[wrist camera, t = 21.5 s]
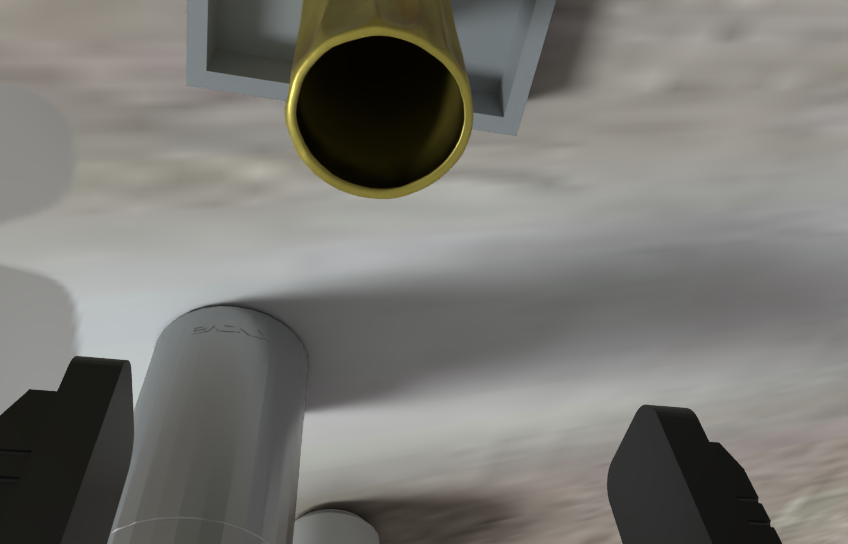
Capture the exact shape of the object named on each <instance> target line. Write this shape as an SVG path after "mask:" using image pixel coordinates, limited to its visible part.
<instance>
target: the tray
mask: <svg viewBox="0 0 848 544" xmlns="http://www.w3.org/2000/svg"><path fill="white" fill-rule="evenodd" d="M450 2H451V8H452V12H453V17H454V22H455V27H456V31H457V35H458V39H459V42H460V46H461V50H462V53H463V57H464V62H465V67H466V72H467V76H468V79H469V84H470V88H471V96H472V103H473V116H474V117H473V126H472V129H474V130H480V131H487V132H493V133H500V134H507V135H513V136H517V132H518V129H519V125H520V122H521V119H522V115H523V112H524V108H525V105H526V102H527V98H528V95H529V91H530V88H531V85H532V81H533V78H534V74H535V71H536V68H537V64H538V61H539V57H540V54H541V51H542V47H543V44H544V40H545V37H546V34H547V30H548V27H549V23H550V20H551V17H552V13H553V10H554V6H555V3H556V0H450ZM302 5H303V0H187V85H186V86H192V87H199V88H205V89H212V90H218V91H225V92H231V93H238V94H244V95H251V96H258V97H264V98H271V99H277V100H284V101H287V97H288V91H289V85H290V76H291V69H292V65H293V59H294V54H295V48H296V42H297V37H298V31H299V27H300V21H301V13H302Z"/></svg>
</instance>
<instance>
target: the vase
mask: <svg viewBox="0 0 848 544" xmlns="http://www.w3.org/2000/svg"><path fill="white" fill-rule="evenodd" d="M473 117H474V116H473V103H472V96H471V88H470V84H469V79H468V76H467V72H466V67H465V62H464V57H463V53H462V50H461V46H460V42H459V39H458V35H457V31H456V27H455V22H454V17H453V12H452V8H451V2H450V0H303V5H302V13H301V21H300V27H299V31H298V37H297V42H296V48H295V54H294V59H293V65H292V69H291V76H290V85H289V91H288V97H287V101H286V105H285V121H286V124H287V127H288V131H289V134H290V137H291V139H292V141H293V144H294V146H295V149H296V151H297V153H298V155H299V157H300V158H301V159H302V160H303V162H304V163H305V164H306V165H307V166H308V167H309V168H310V170H311V171H312V172H313V173H314V174H315V175H317V176H318V177H319V178H321V179H322V180H324V181H325V182H326V183H328V184H330V185H331V186H333V187H335V188H337V189H339V190H341V191H344V192H346V193H349V194H352V195H356V196H360V197H366V198H375V199H391V198H398V197H403V196H406V195H409V194H412V193H414V192H417V191H419V190H422V189H424V188H426V187H428V186H429V185H431V184H433V183H434V182H436V181H437V180H438V179H440V178H441V177H442V176H443V175H444V174H445V173H446V172H448V171H449V170H450V169H451V168H452V166H453V165H454V164H455V163H456V162H457V161H458V160H459V158H460V157H461V155H462V154H463V152H464V150H465V148H466V146H467V143H468V141H469V138H470V135H471V131H472V126H473Z"/></svg>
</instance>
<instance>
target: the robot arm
mask: <svg viewBox="0 0 848 544" xmlns="http://www.w3.org/2000/svg"><path fill="white" fill-rule="evenodd" d="M307 377H308V360H307V354H306V352H305V350H304V347H303V345H302V343H301V342H300V340H299V339H298V338H297V337H296V335H295V334H294V333H293V332H292V331H291V330H290V329H288V328H287V327H286V326H285V325H284V324H283V323H281V322H279V321H277V320H276V319H274V318H272V317H270V316H268V315H266V314H263V313H260V312H257V311H254V310H251V309H245V308H240V307H228V306H217V307H209V308H202V309H199V310H196V311H193V312H189V313H187V314H185V315H183V316H181V317H179V318H178V319H176V320H174V321H173V322H172V323H171V324H170V325H169V326H167V327H166V328H165V329H164V331H163V332H162V334H161V335H160V337H159V338H158V340H157V343H156V346H155V349H154V352H153V355H152V358H151V361H150V364H149V367H148V370H147V373H146V376H145V380H144V383H143V386H142V388H141V391H140V394H139V397H138V400H137V403H136V406H135V409H134V412H133V394H132V374H131V364H130V362H129V360H118V359H106V358H94V357H82V356H75V357H74V358H73V359H72V360H71V362H70V364H69V366H68V368H67V370H66V373H65V375H64V378H63V380H62V382H61V384H60V387H59V389H58V391H57V392H56V391H44V390H31V389H29V390H28V391H27V392H26V393H25V394H24V395H23V396H22V397H21V398H19V399H18V400H17V401H16V402H15V403H14V404H13V405H12V406H10V407H9V408H8V409H7V410H6V411H5V412H4V413H3V414H2V415H0V544H293V535H294V524H295V512H296V501H297V489H298V478H299V466H300V455H301V443H302V432H303V421H304V411H305V400H306V388H307ZM607 490H608V498H609V502H610V505H611V508H612V511H613V515H614V518H615V521H616V524H617V527H618V530H619V533H620V536H621V539H622V542H623V544H782V542H781V540H780V538H779V536H778V535H777V533H776V531H775V529H774V527H771V526H770V522H771V521H770V519H769V517H768V515H767V513H766V511H765V509H764V507H763V505H762V504H761V503H758V496H757V494H756V492H755V490H754V488H753V486H752V484H751V482H750V480H749V478H748V476H747V474H746V472H745V470H744V469H743V468H742V466H741V465H740V464H739V463H738V462H737V461H736V460H735V459H734V458H733V457H732V456H731V455H730V454H729V453H728V452H727V450H726V449H725V448H724V447H723V446H722V445H721V444H720V443H717V442H709V440H708V438H707V436H706V434H705V432H704V430H703V428H702V426H701V424H700V422H699V420H698V418H697V416H696V414H695V413H694V412H693V411H692V410H691V409H688V408H680V407H668V406H655V405H643V406H641V407H640V408H639V409H638V411H637V412H636V414H635V416H634V418H633V420H632V422H631V424H630V426H629V428H628V430H627V432H626V434H625V436H624V438H623V440H622V442H621V444H620V446H619V448H618V450H617V452H616V454H615V456H614V458H613V460H612V462H611V464H610V467H609V472H608V479H607Z"/></svg>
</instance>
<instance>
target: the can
mask: <svg viewBox="0 0 848 544" xmlns="http://www.w3.org/2000/svg"><path fill="white" fill-rule="evenodd" d="M293 544H380V543H379V536H378V533H377V532H376V530H375V529H374V528H373V526H372V525H370V524H369V523H367V522H366V521H364V520H363V519H362V518H360V517H359V516H357V515H356V514H354V513H351V512H348V511H345V510H337V509H324V510H317V511H314V512H310V513H307V514H305V515H304V516H302V517H300V518H299V519H298V520H296V521H295V524H294V535H293Z"/></svg>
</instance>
